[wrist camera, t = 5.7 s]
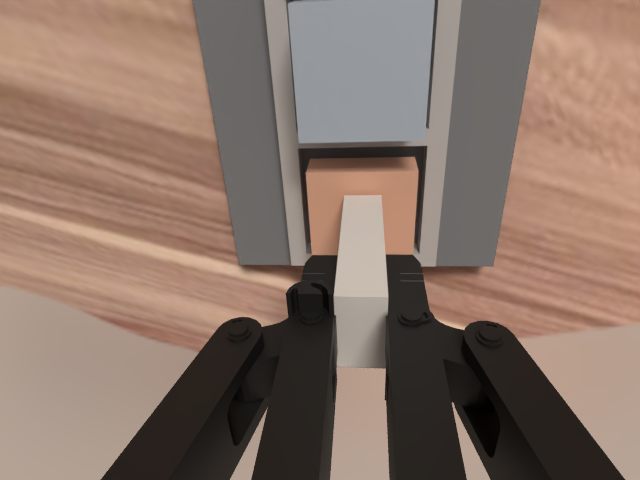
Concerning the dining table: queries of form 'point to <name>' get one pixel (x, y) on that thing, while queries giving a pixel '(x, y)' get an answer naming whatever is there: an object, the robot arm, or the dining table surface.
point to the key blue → (361, 69)
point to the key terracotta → (362, 179)
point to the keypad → (431, 155)
